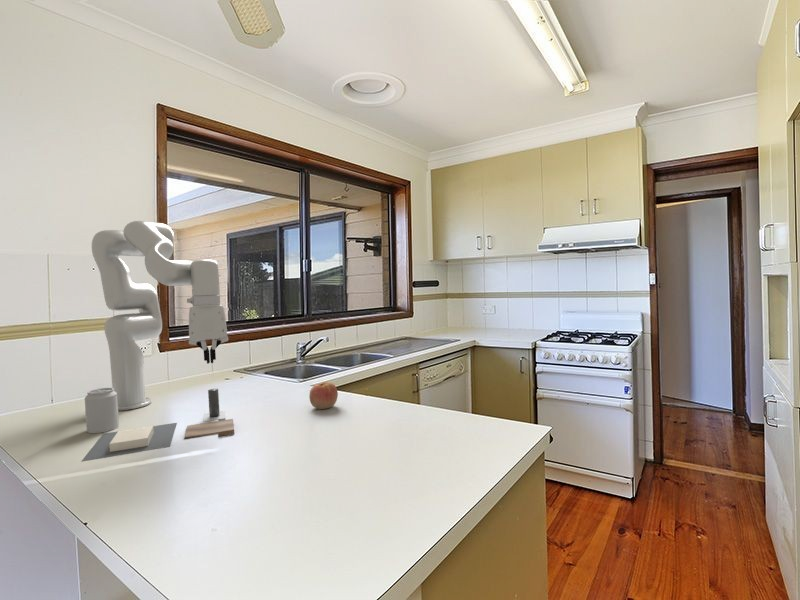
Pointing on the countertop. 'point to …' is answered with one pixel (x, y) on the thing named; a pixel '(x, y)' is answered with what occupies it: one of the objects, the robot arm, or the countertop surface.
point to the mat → (158, 440)
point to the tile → (131, 438)
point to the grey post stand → (214, 407)
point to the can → (101, 410)
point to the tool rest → (210, 429)
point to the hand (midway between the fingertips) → (210, 362)
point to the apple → (323, 395)
